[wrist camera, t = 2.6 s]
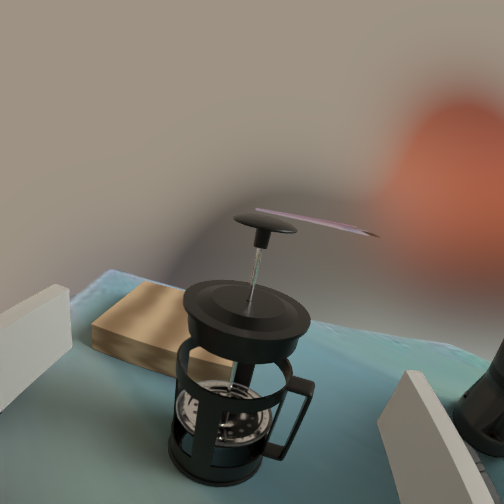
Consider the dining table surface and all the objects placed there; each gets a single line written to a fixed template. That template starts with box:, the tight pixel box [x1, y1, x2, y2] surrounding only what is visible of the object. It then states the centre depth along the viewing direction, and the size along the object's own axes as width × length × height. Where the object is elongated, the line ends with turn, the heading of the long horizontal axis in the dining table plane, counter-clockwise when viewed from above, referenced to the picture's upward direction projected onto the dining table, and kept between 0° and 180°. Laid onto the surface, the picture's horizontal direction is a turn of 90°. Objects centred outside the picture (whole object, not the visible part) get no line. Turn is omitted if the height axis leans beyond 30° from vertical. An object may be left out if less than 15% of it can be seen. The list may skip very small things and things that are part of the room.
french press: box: [168, 214, 315, 487], centre depth 22 cm, size 12×9×23 cm
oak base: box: [91, 281, 233, 383], centre depth 43 cm, size 20×18×4 cm
